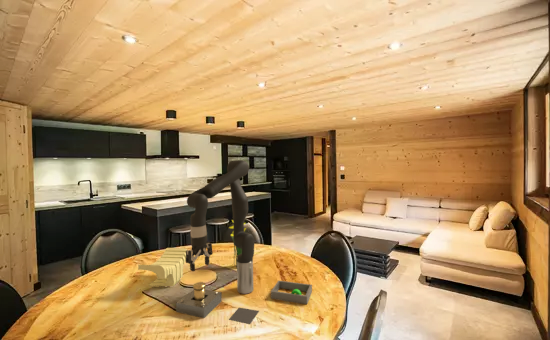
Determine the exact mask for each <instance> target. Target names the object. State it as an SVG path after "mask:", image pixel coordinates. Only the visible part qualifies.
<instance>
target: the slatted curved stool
mask: <svg viewBox="0 0 550 340" xmlns="http://www.w3.org/2000/svg"><path fill="white" fill-rule="evenodd" d="M186 250H188V249H187V248H186V247H185V248H184V247H167V248H165V250H164V252H163V253H162V254H161V255H160V257H159V258H158V259H157V260H156V261H155V262H153V263H151V264H137V265H138V267H137V270H140V271H148V272H152V273H153V274H155V275H156V279H155V280H154V281H152V282H151V283H150V284H148V286H149V287H159V286H173V287H174V286H175V285H176V284H177V283H179V282H180V281H181V280H180V278H181V277H182V278H183V275H184V274H183V273H184V272H183V271H184V265H185V263H186ZM179 280H180V281H179Z"/></svg>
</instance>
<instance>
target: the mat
mask: <svg viewBox="0 0 550 340" xmlns="http://www.w3.org/2000/svg"><path fill="white" fill-rule="evenodd" d="M259 312H260V310H255V309H249V308H244V307H238V308H237V309H236V310H235V311H234V313H233V314H232V315H231V316H230V317H229V318H228V320H229V321H232V322H233V321H234V322H238V323H242V324H243V323H244V324H248V325H251V323H252V322H253V320H254V319H255V318H256V316H257V315H258V314H259Z"/></svg>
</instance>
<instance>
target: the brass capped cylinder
mask: <svg viewBox="0 0 550 340" xmlns="http://www.w3.org/2000/svg"><path fill="white" fill-rule="evenodd" d="M192 286H193V287H192V290H194V300H196V301H202V300H204V299H205V290H206V283H205V282H203V281H200V282H196V283H193V285H192Z"/></svg>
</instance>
